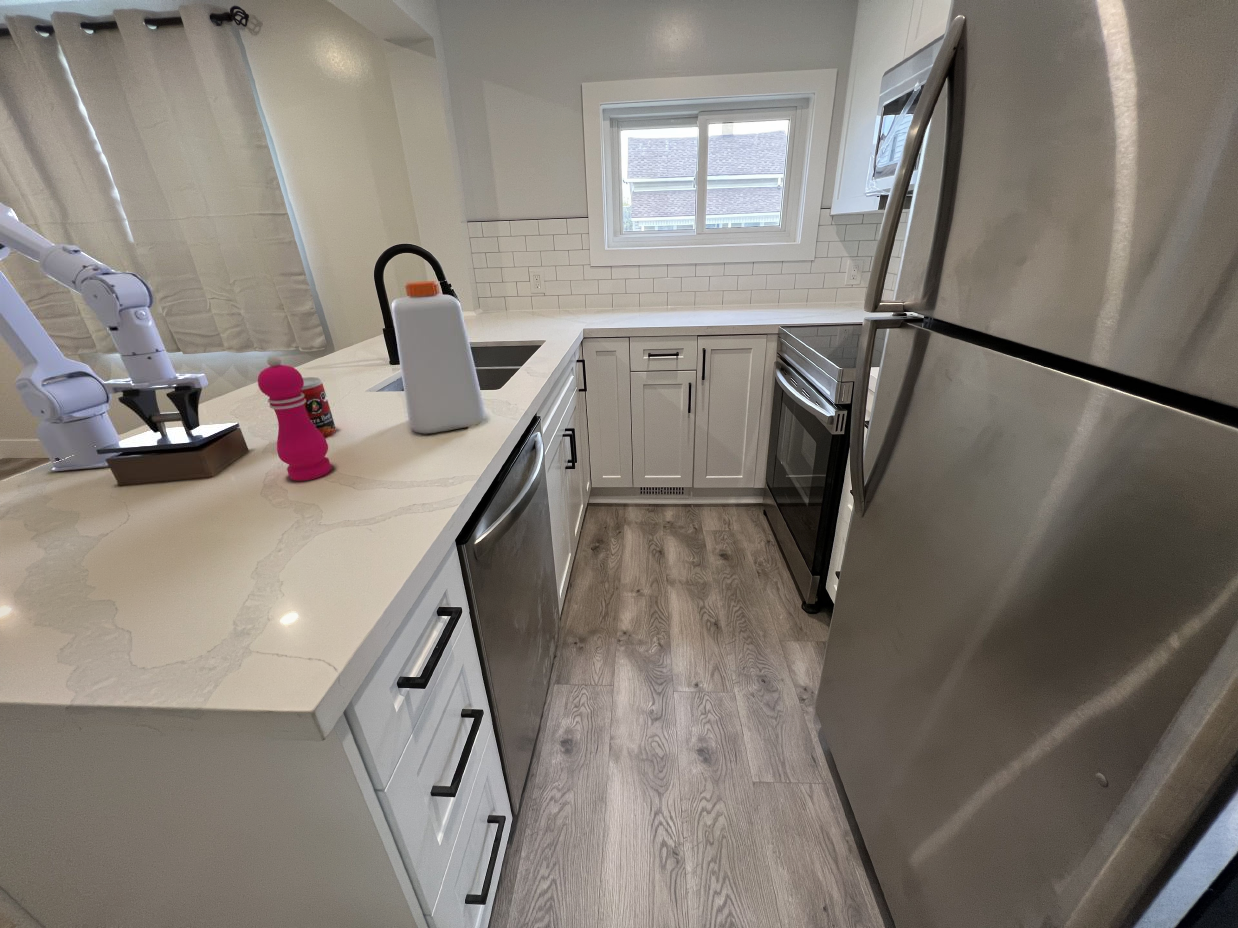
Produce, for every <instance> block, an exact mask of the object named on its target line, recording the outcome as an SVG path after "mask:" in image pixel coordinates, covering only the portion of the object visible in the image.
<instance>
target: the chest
mask: <svg viewBox="0 0 1238 928" xmlns="http://www.w3.org/2000/svg"><path fill="white" fill-rule="evenodd" d="M248 447H249V446H248V445H247V442H246V440H245V437H244V434H243V431H242V429H241V427H238V428H236V429H234V430H232V431H229V432H227V433H225V434H223V435H220V436H218V437H216V438H214V439H212V440H209V441H207V442H205V443H203V444H200V445H198V446H195V447H182V448H170V449H158V450H146V451H134V452H122V453H117V454H115V455H113V456H111V457H109V458H107V459H105V460H106V462H107V464H108V465H109V466H108V467H109V469H110V471H111V474H113V477H114V479H115V481H116V483H117V485H118V486H125V485H126V486H127V485H137V484H148V483H158V482H159V483H160V482H170V481H181V480H183V481H184V480H193V479H204V478H213V477H215V476H216V475H218V474H219V473H220V472H221V471H223V470H224V469H226V468H227V467H228V466H230V465H231V464H233V463H234V462H235V461H237V460H238V459H240V458H241V457H242V456H244V455H245V454H247V453H248V452H249V451H250V449H249V448H248Z"/></svg>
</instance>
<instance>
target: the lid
mask: <svg viewBox="0 0 1238 928" xmlns="http://www.w3.org/2000/svg"><path fill="white" fill-rule="evenodd" d="M151 419H152V421H153V422H154V423H156V424H157V427H158V430H159V432H158V433H154V432H153V431H152V430H151V429H150V430H148V431H146V432H143V433H140V434H137V435H134V436H131V437H129V438H125V439H123V440H121V441H120V442H117V443H114V444H111V445H108V446H106V447H103V448H100V449H97V450H96V451H97V453H98V454H110V453H122V452H134V451H146V450H158V449H170V448H182V447H195V446H198V445H200V444H203V443H205V442H207V441H209V440H212V439H214V438H216V437H218V436H220V435H223V434H225V433H227V432H229V431H232V430H234V429H236V428H238V427H240V426H241V425H240V423H239V422H233V423H220V424H219V423H218V424H208V425H207V424H206V425H200V427H198V428H196V429H194V430H188V429H187V427H186V426H185V424H184V422H183V419H182V417H181V415H180V413H179V411H171V412H160V413H157V414H152V416H151ZM163 422H164V423H172V422H175V423H176V422H181V425H182V426H181V427H169V428H166V425H165V426H164V423H163ZM240 428H241V427H240Z"/></svg>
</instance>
